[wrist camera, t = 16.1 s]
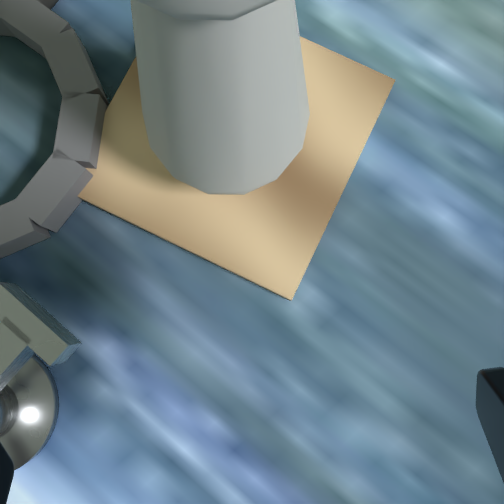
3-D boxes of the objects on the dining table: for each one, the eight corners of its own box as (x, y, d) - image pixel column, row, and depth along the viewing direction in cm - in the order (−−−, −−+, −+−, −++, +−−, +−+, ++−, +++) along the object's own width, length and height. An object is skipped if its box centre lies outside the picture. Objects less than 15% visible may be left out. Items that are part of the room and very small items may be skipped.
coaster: (290, 300, 19) (291, 300, 18) (68, 192, 19) (62, 189, 19) (391, 86, 20) (395, 79, 19) (180, -10, 20) (177, -20, 20)
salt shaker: (144, 86, 19) (-61, -375, 6) (281, 57, 19) (350, -443, 7) (173, 223, 19) (6, 19, 6) (315, 193, 19) (466, -72, 6)
